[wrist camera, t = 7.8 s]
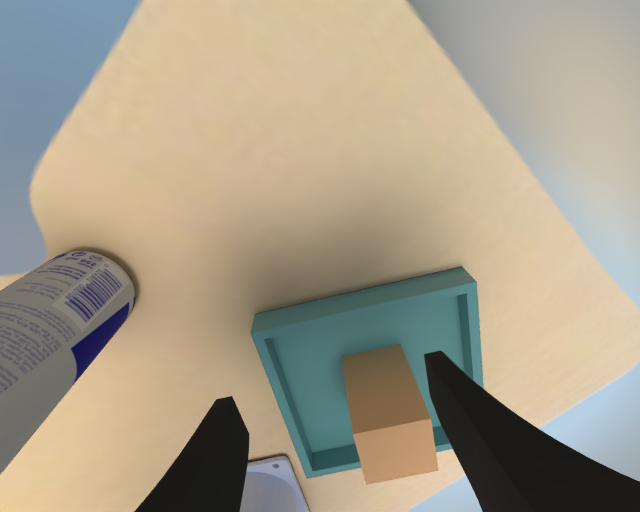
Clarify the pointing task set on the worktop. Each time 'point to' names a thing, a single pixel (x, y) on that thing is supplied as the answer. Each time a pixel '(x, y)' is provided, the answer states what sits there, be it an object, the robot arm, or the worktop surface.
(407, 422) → the tan rectangular block
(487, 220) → the worktop surface
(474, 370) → the teal tray
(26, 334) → the beverage can
